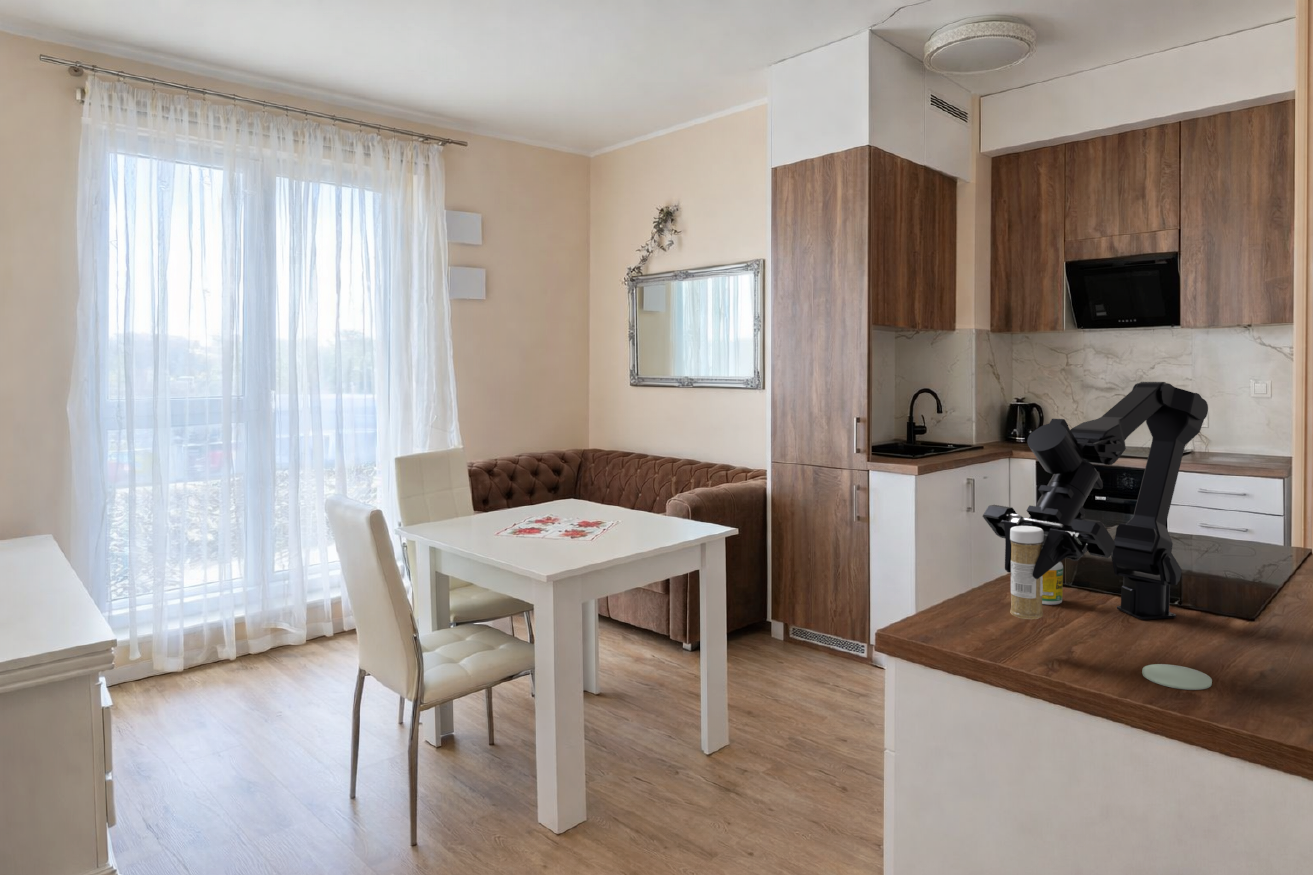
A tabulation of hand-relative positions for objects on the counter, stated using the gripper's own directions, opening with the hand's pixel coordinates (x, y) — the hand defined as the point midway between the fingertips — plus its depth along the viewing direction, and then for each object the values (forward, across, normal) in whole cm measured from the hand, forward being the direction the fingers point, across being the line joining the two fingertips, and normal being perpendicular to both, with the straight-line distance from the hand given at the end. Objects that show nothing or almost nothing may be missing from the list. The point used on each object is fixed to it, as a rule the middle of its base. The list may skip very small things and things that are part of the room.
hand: (1020, 574), depth 120 cm
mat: (+2, -18, -15) cm, 23 cm away
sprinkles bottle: (+4, 0, -6) cm, 7 cm away
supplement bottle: (-10, +14, -29) cm, 34 cm away
